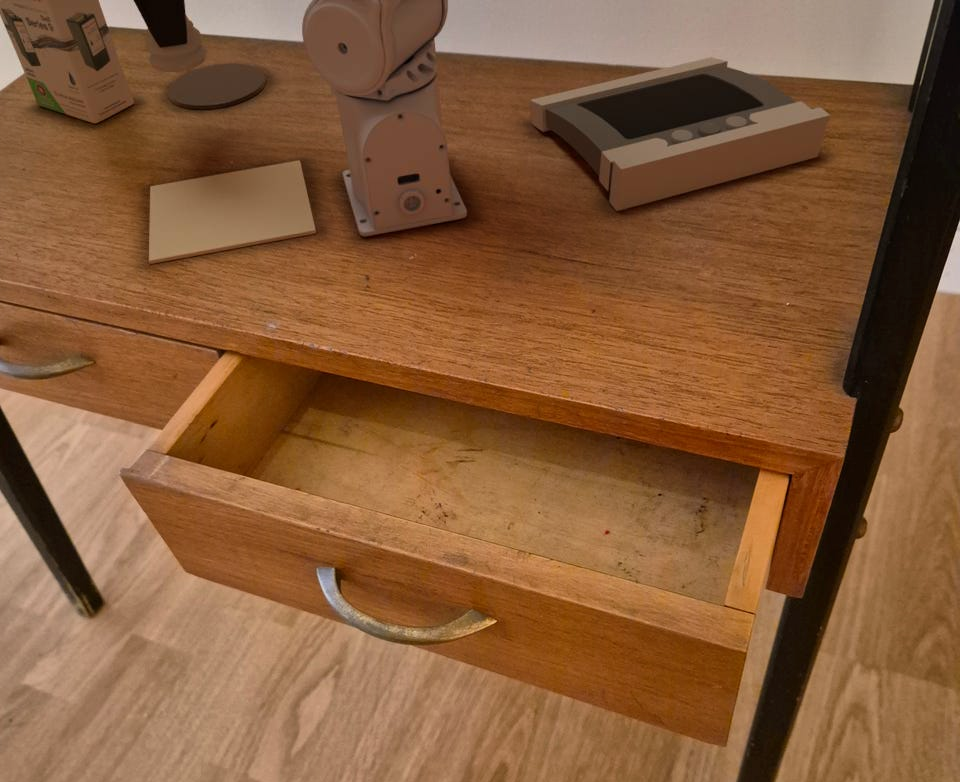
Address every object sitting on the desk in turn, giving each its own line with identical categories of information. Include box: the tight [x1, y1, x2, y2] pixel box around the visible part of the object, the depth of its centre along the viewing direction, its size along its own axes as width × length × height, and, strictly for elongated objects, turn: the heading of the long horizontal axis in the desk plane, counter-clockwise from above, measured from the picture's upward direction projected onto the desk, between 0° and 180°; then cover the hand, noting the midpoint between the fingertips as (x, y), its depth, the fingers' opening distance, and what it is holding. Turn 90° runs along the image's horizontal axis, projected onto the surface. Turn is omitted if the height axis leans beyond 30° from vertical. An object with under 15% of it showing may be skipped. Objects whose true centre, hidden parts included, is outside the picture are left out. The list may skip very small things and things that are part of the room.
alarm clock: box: [529, 56, 831, 212], centre depth 69 cm, size 17×5×16 cm
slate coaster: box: [167, 63, 266, 111], centre depth 82 cm, size 9×9×1 cm
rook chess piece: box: [144, 13, 209, 73], centre depth 64 cm, size 4×4×8 cm
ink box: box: [0, 0, 135, 124], centre depth 77 cm, size 9×5×12 cm, turn 56°
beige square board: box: [148, 160, 317, 265], centre depth 67 cm, size 11×12×1 cm
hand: (172, 34), depth 65 cm, fingers closed on rook chess piece, 3 cm apart
